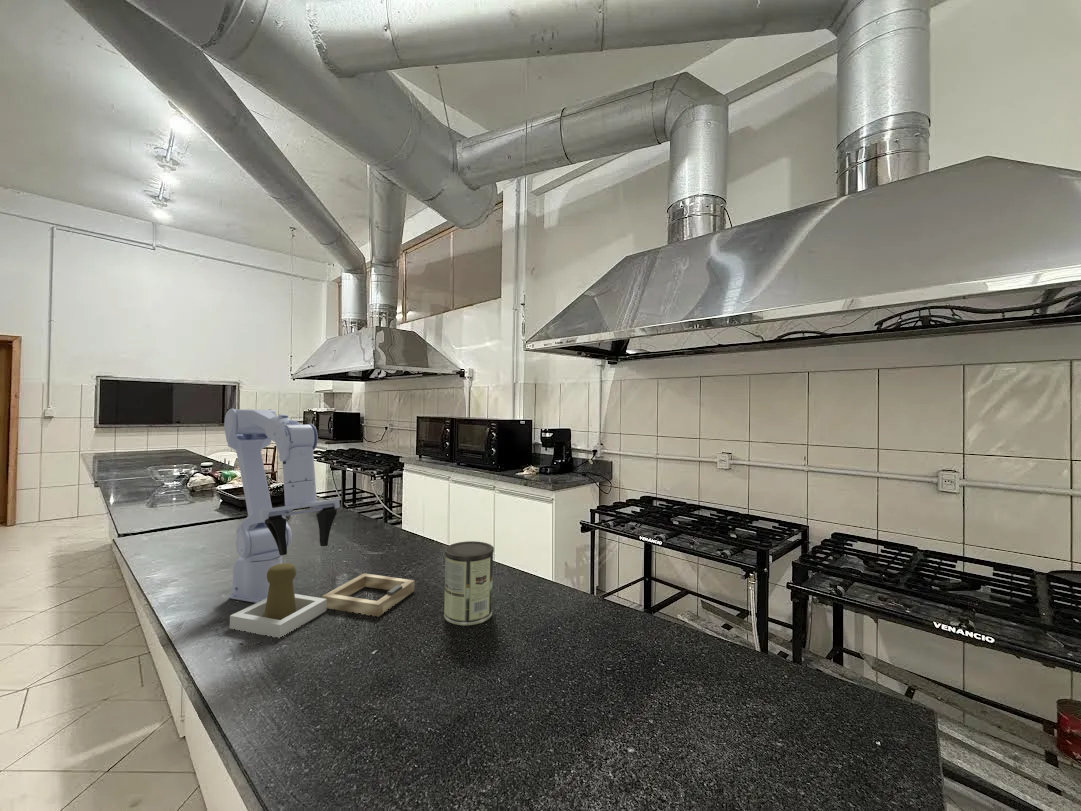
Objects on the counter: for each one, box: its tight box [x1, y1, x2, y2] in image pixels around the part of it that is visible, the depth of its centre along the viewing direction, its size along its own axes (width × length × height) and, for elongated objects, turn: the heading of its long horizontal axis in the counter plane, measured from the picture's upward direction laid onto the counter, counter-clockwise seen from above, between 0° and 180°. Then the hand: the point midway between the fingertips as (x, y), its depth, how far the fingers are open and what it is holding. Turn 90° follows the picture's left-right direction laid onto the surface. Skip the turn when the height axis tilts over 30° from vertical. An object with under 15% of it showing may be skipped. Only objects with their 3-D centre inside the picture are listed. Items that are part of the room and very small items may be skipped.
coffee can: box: [443, 540, 495, 626], centre depth 95 cm, size 10×10×14 cm
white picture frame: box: [229, 593, 328, 639], centre depth 91 cm, size 12×12×2 cm
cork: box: [263, 562, 297, 620], centre depth 91 cm, size 6×6×11 cm
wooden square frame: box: [321, 573, 416, 618], centre depth 101 cm, size 14×14×3 cm
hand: (304, 550), depth 89 cm, fingers open, 7 cm apart
